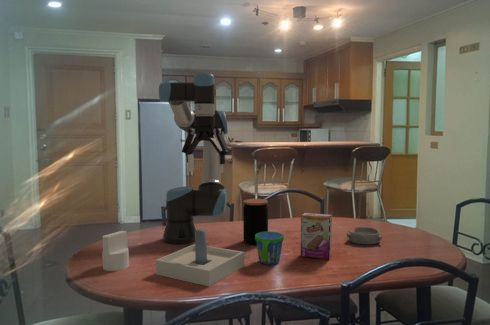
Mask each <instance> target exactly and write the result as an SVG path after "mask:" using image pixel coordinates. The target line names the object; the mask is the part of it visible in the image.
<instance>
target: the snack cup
mask: <svg viewBox="0 0 490 325" xmlns="http://www.w3.org/2000/svg"><path fill="white" fill-rule="evenodd" d="M284 237H285V235H284V234H283V233H282V232H277V231H268V232H260V233H257V234H256V235H255V240H256V242H257V245H256V250H257V256H258V261H259V263H262V264H264V265H267V266H268V265H271V266H272V265H276V264H279V262H280V260H281V255H282V247H283V241H284Z"/></svg>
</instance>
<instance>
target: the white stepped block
mask: <svg viewBox="0 0 490 325" xmlns="http://www.w3.org/2000/svg"><path fill="white" fill-rule="evenodd" d="M129 250H130V249H129V248H128V231H125V230H120V231H116V232H113V233H109V234H105V235H102V251H101V253H102V255H101V256H102V269H103V270H104V271H107V272H118V271H122V270H125V269H128V268H129V266H130V258H129V257H130V254H129V252H130V251H129Z"/></svg>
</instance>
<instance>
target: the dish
mask: <svg viewBox="0 0 490 325" xmlns="http://www.w3.org/2000/svg"><path fill="white" fill-rule="evenodd" d="M346 238H347V239H348V242H350V243H353V244H357V245H375V244H376V245H377V244H378V243H380V242H381V241H382V239H383V235H381V232H380V230H379V229H377V228H375V227H372V226H371V227H370V226H355V228H354V230H353V231H351V230H349V229H348V232H346Z"/></svg>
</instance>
